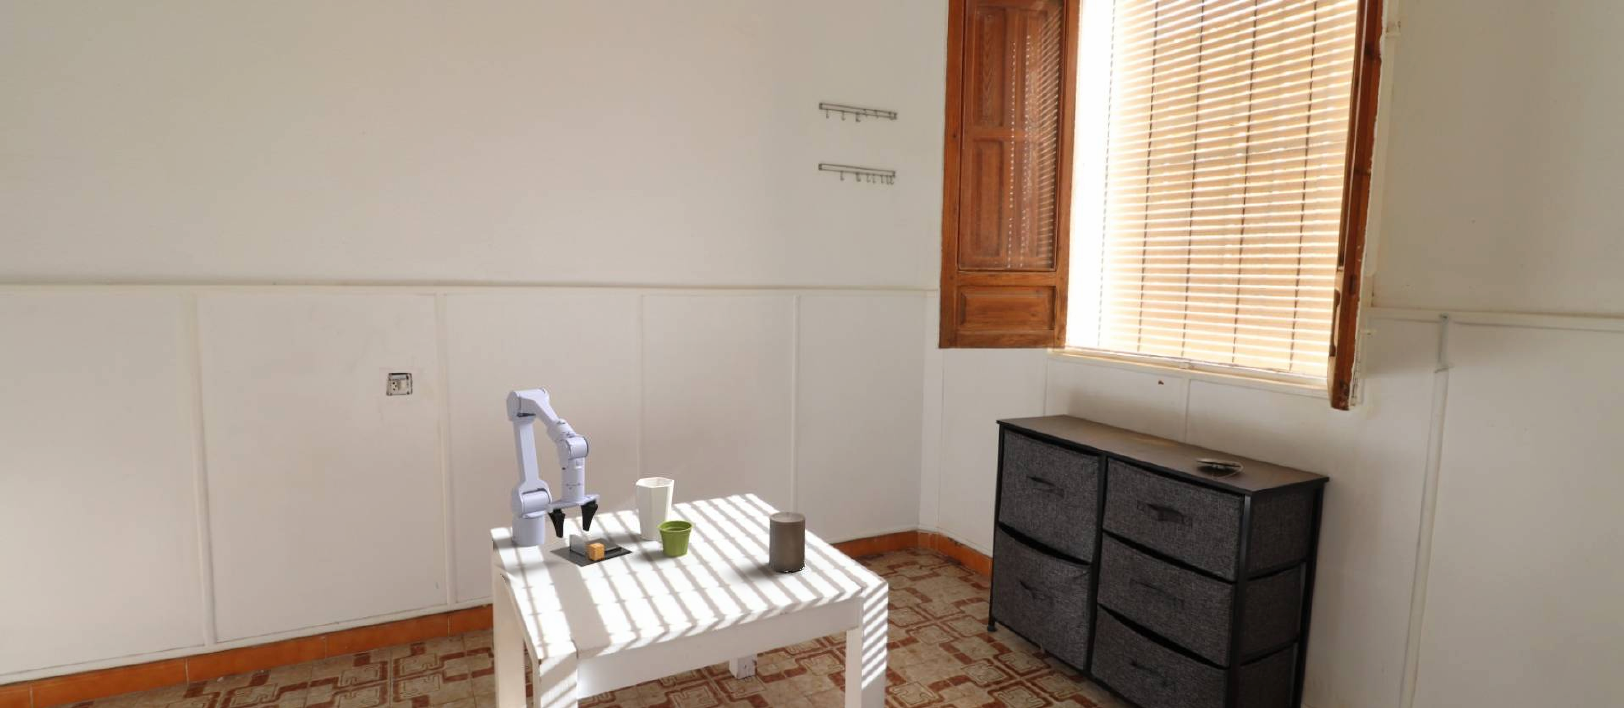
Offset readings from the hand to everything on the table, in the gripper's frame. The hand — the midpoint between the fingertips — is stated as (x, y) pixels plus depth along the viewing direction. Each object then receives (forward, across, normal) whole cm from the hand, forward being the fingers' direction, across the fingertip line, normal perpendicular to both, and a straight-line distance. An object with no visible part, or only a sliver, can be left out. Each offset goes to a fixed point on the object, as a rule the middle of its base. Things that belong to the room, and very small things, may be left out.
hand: (572, 533), depth 207 cm
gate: (+8, +5, +5) cm, 10 cm away
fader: (+8, +6, -2) cm, 10 cm away
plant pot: (+9, +24, -12) cm, 28 cm away
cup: (+9, +28, +3) cm, 30 cm away
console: (+9, +8, +4) cm, 12 cm away
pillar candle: (+9, +41, -38) cm, 57 cm away
